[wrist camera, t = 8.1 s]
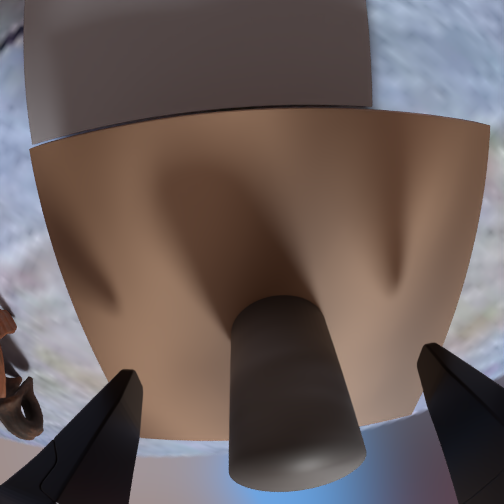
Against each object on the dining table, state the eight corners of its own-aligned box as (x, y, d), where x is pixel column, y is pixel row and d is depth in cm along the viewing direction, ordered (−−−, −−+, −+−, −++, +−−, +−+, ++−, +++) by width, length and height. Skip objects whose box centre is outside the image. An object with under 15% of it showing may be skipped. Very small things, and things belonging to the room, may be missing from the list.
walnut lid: (472, 121, 8) (614, 171, 3) (405, 400, 15) (441, 491, 9) (46, 142, 8) (-99, 211, 3) (143, 422, 15) (125, 522, 9)
